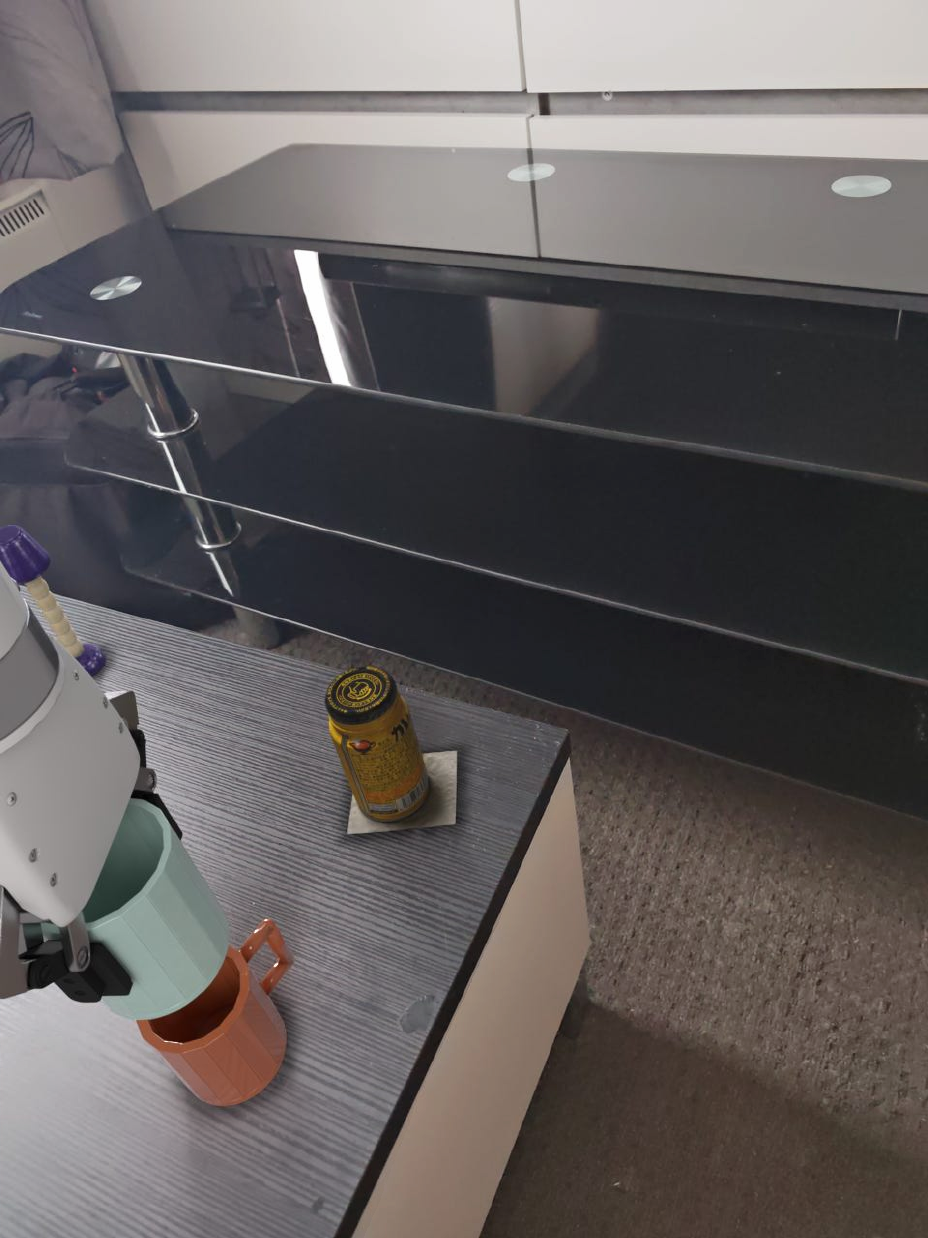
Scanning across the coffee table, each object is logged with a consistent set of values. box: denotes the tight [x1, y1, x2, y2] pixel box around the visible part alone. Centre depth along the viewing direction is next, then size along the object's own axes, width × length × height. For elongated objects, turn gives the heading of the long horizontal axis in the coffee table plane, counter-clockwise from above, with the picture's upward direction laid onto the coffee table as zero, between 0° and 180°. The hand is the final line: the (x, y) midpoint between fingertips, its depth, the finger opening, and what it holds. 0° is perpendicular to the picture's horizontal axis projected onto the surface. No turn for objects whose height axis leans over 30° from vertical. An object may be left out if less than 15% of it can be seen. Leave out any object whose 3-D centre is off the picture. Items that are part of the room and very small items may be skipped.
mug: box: [135, 917, 295, 1107], centre depth 58 cm, size 10×7×8 cm
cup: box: [41, 798, 231, 1021], centre depth 48 cm, size 8×8×9 cm
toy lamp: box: [0, 524, 107, 677], centre depth 85 cm, size 5×5×17 cm
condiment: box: [324, 665, 458, 835], centre depth 69 cm, size 7×8×12 cm
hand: (130, 910), depth 48 cm, fingers closed on cup, 7 cm apart
